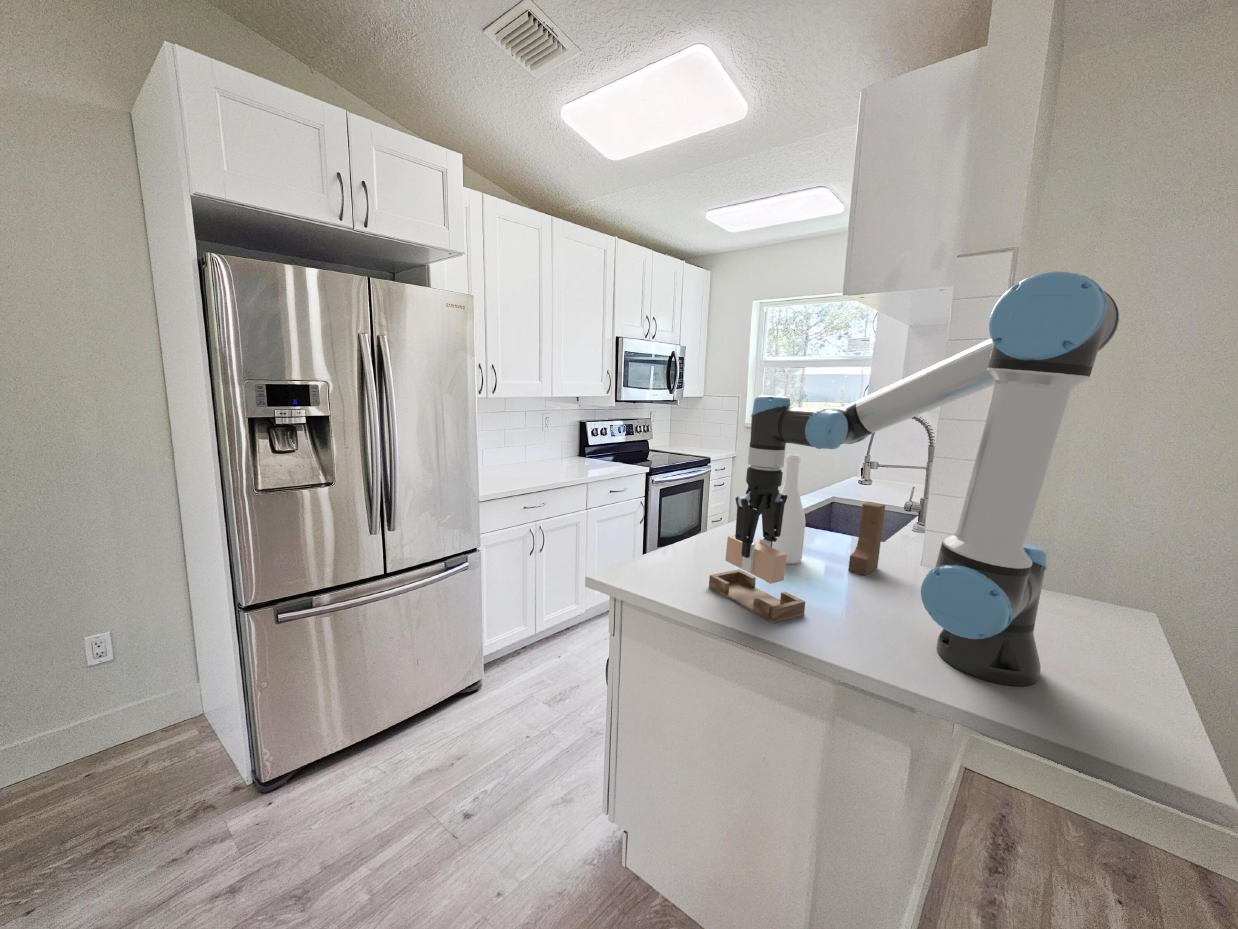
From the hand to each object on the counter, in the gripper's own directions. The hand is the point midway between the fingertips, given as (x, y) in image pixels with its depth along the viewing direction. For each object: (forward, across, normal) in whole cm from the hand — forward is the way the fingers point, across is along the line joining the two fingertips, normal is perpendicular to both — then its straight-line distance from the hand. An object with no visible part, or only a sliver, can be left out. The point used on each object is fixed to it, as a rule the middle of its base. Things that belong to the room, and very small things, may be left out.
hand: (755, 568), depth 113 cm
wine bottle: (+8, -28, -16) cm, 34 cm away
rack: (+7, 0, 0) cm, 7 cm away
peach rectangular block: (+1, 0, 0) cm, 1 cm away
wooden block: (+8, -42, -2) cm, 43 cm away
